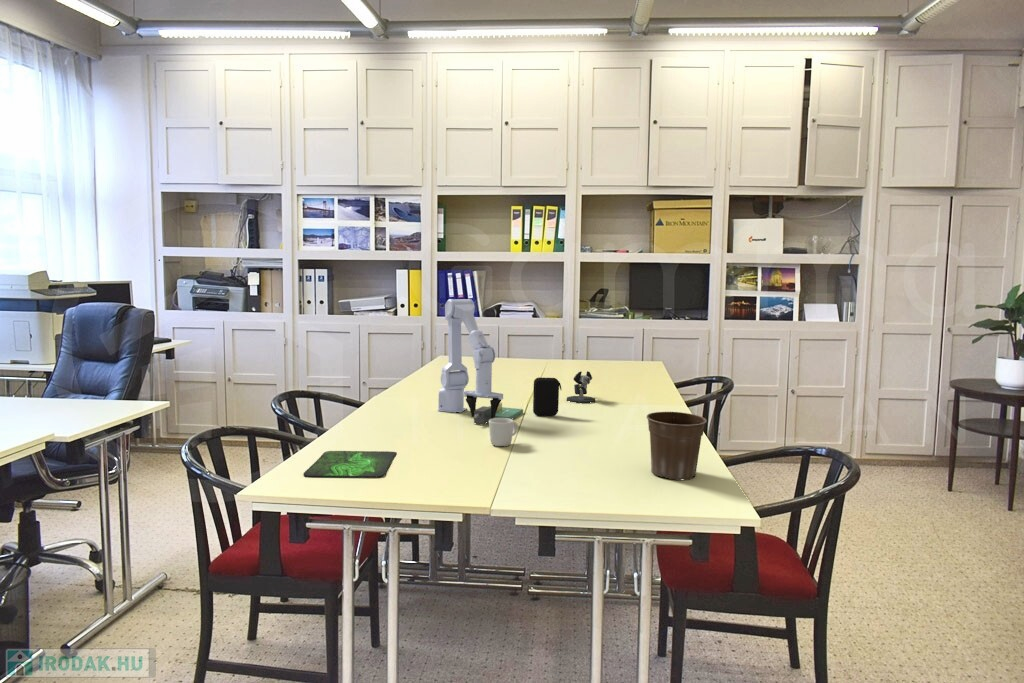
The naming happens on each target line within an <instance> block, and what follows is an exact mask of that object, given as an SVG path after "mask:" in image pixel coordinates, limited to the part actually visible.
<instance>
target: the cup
mask: <svg viewBox="0 0 1024 683" xmlns="http://www.w3.org/2000/svg"><path fill="white" fill-rule="evenodd" d="M488 427H489V438H490V444H491V445H492V446H494V445H495V446H494V447H499V446H504V447H508V446H511V443H512V440H513V436H515V435H517V431H518V424H517V422H515V420H514V419H508V418H493V419H490V420H489V422H488Z"/></svg>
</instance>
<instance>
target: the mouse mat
mask: <svg viewBox="0 0 1024 683" xmlns="http://www.w3.org/2000/svg"><path fill="white" fill-rule="evenodd" d="M396 455H397V452H395V451H389V450H388V451H387V450H386V451H378V450H377V451H376V450H375V451H373V450H372V451H371V450H370V451H367V450H365V451H364V450H328V451H327V450H326V451H325V452H322V454H321V455H320V457H319V458H318V459H317V460H316V461H315V462H314V463H312V465H310V466H309V468H307V469H306V470H305V471H304V472H303V476H304V477H306V478H359V479H360V478H364V479H365V478H368V479H369V478H382V477H384V476H385V475H386V474H387V472H388V470H389V469H390V466H391V464H392V463H393V461H394V459H395V458H396Z"/></svg>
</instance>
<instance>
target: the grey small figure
mask: <svg viewBox="0 0 1024 683" xmlns="http://www.w3.org/2000/svg"><path fill="white" fill-rule="evenodd" d="M582 373H583V372H582V371H578V373H576V374H575V376H574V377H573V381H574V382H575V384H574V389H573V390H574V394H575V395H571V396H567V397H566V402H568V401H570V402H569V403H571V402H576V403H575V404H580V403H582V404H591V403H590V402H594V403H596V397H592V396H588V395H587V394H588V391H587V389H588V385H589V384H590V383H591V381H592V379H593V376H592V374H591V372H590V371H589V370H587V371H586V373H585V374H584V375H583V374H582ZM586 395H587V396H586Z"/></svg>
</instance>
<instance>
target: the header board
mask: <svg viewBox="0 0 1024 683" xmlns="http://www.w3.org/2000/svg"><path fill="white" fill-rule="evenodd" d="M488 407H491V405H490V406H488ZM521 413H522V414H523V413H524V409H523V408H515V407H513V408H512V407H503V402H500V404H499V406H498V408H497V411H496V415H495V418H508V419H512V418H514V417H515V418H517V417H518V415H519V414H520V415H522V414H521ZM520 415H519V416H520ZM516 416H517V417H516ZM515 418H514V419H515ZM512 420H513V419H512Z"/></svg>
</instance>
